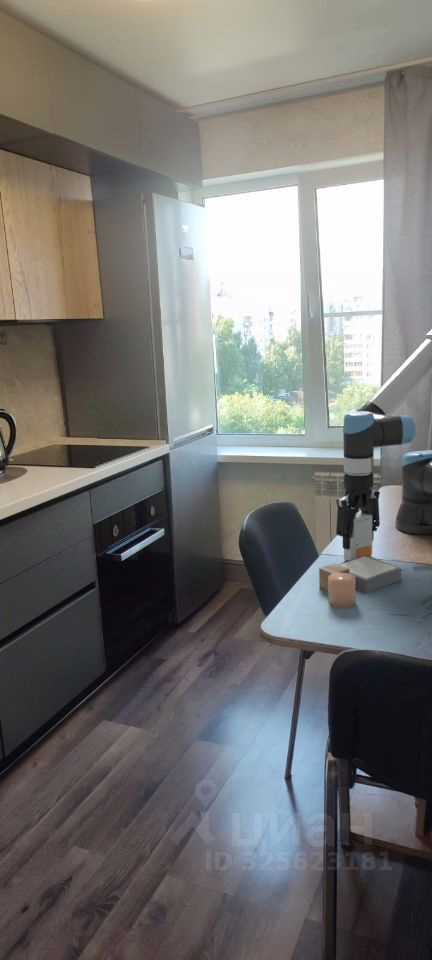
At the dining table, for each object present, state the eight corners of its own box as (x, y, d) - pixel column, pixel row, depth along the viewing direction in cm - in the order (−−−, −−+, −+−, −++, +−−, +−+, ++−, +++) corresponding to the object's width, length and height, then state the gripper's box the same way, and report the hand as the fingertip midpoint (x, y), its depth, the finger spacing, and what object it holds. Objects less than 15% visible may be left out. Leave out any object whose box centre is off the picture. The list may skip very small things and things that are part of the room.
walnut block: (334, 582, 164) (334, 563, 163) (349, 588, 160) (349, 568, 159) (319, 587, 161) (319, 568, 160) (334, 594, 157) (334, 574, 156)
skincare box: (354, 563, 175) (354, 519, 173) (344, 558, 179) (343, 515, 176) (372, 558, 178) (372, 515, 175) (362, 553, 182) (362, 511, 179)
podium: (364, 566, 173) (364, 554, 172) (401, 579, 163) (401, 567, 162) (330, 578, 166) (330, 566, 166) (366, 592, 157) (366, 580, 156)
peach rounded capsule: (341, 594, 156) (341, 570, 155) (361, 602, 152) (361, 578, 150) (322, 601, 153) (322, 577, 152) (341, 610, 148) (341, 584, 147)
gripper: (373, 464, 181) (372, 545, 187) (320, 476, 171) (321, 561, 176) (395, 468, 175) (393, 552, 181) (341, 481, 165) (342, 569, 170)
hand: (358, 556), depth 178 cm, fingers closed on skincare box, 6 cm apart
